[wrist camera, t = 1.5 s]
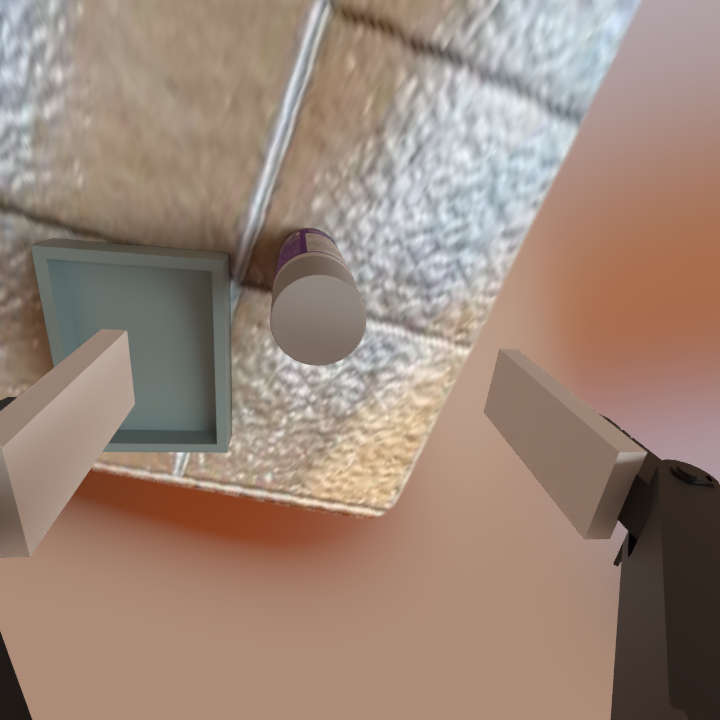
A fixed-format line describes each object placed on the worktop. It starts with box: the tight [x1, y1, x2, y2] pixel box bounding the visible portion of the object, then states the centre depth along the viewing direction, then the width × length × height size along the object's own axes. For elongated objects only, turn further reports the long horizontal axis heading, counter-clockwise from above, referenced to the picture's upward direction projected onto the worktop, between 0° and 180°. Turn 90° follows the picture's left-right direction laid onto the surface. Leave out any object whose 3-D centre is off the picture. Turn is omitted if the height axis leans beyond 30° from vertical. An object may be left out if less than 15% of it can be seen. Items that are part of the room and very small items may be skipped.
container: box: [270, 228, 366, 365], centre depth 27 cm, size 5×5×15 cm
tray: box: [30, 239, 232, 453], centre depth 33 cm, size 16×12×3 cm
